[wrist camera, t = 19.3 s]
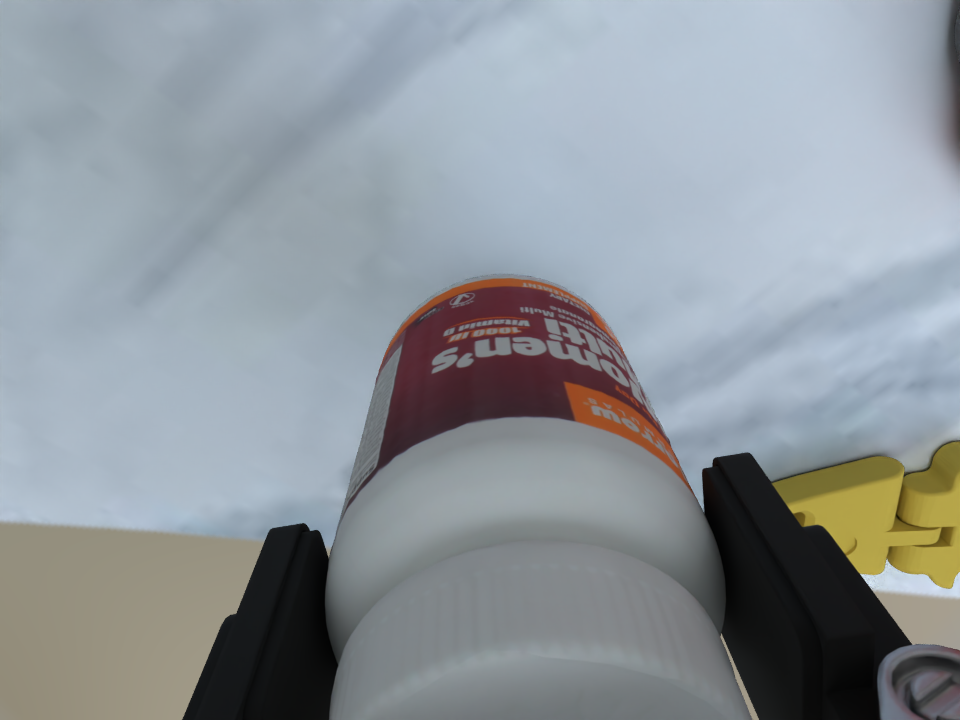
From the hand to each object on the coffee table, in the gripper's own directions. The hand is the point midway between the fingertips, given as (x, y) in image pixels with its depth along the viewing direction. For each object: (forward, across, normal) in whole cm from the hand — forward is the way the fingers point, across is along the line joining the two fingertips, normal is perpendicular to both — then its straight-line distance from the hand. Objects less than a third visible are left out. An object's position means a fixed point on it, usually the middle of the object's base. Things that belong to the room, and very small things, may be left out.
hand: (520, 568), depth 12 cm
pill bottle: (+7, 0, 0) cm, 7 cm away
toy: (+10, -15, +6) cm, 19 cm away
